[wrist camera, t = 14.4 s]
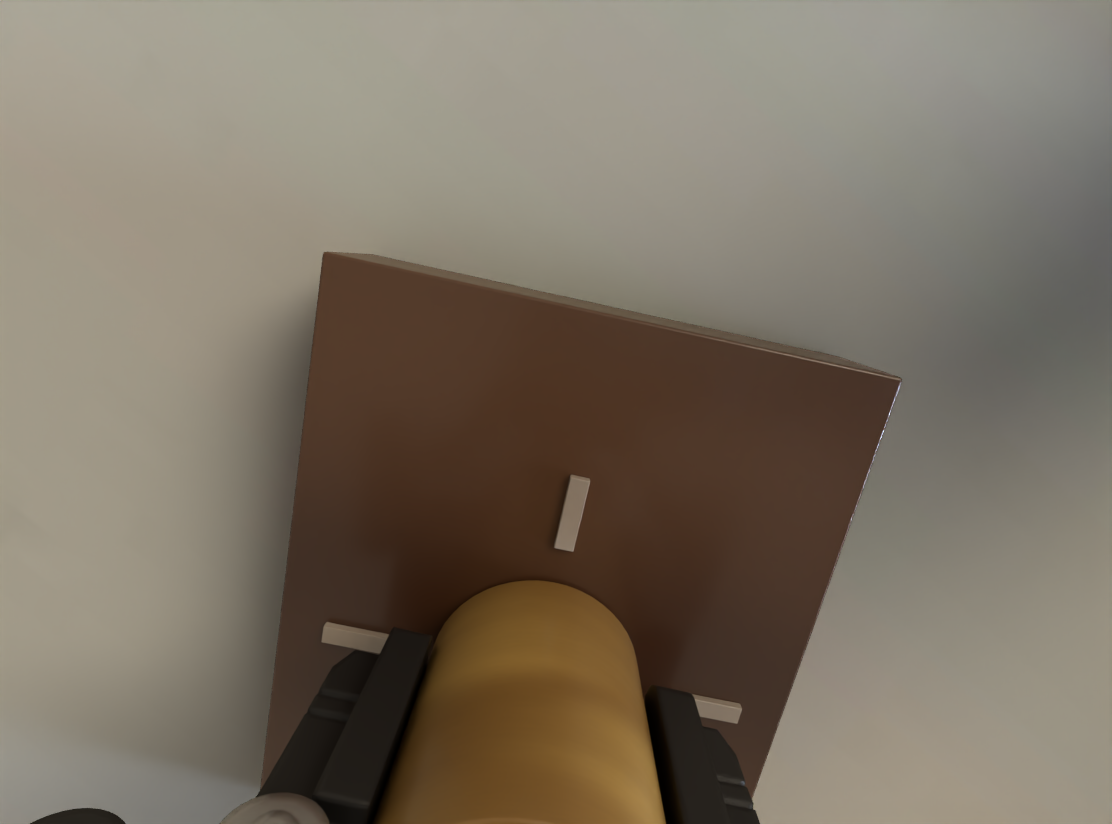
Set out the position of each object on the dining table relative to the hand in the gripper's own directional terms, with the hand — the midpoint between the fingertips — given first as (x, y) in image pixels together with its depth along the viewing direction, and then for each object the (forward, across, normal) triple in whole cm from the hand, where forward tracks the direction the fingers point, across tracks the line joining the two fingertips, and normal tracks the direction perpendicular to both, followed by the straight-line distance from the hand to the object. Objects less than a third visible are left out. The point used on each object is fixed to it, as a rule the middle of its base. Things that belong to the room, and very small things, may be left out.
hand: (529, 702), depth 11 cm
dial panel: (+3, 0, 0) cm, 3 cm away
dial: (+1, 0, 0) cm, 1 cm away
